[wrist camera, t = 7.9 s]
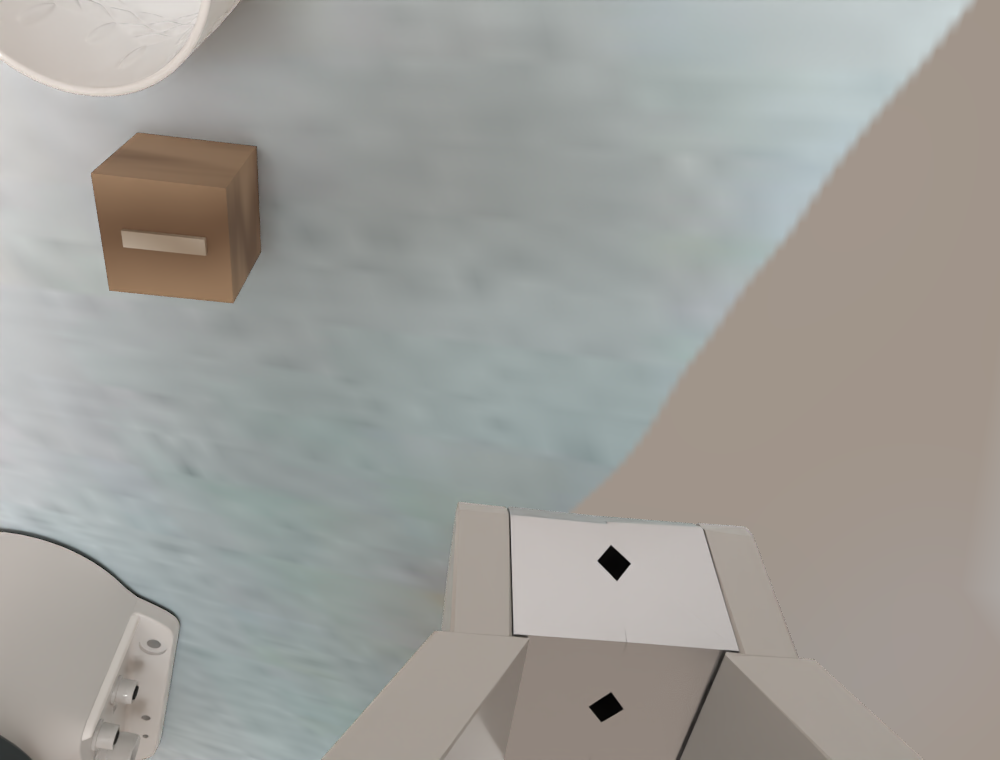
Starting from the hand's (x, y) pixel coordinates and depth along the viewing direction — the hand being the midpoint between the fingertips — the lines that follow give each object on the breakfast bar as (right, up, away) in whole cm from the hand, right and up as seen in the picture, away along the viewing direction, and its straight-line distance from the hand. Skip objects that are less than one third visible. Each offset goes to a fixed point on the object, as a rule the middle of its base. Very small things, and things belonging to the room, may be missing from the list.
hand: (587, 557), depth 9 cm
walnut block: (-14, +10, +28) cm, 33 cm away
